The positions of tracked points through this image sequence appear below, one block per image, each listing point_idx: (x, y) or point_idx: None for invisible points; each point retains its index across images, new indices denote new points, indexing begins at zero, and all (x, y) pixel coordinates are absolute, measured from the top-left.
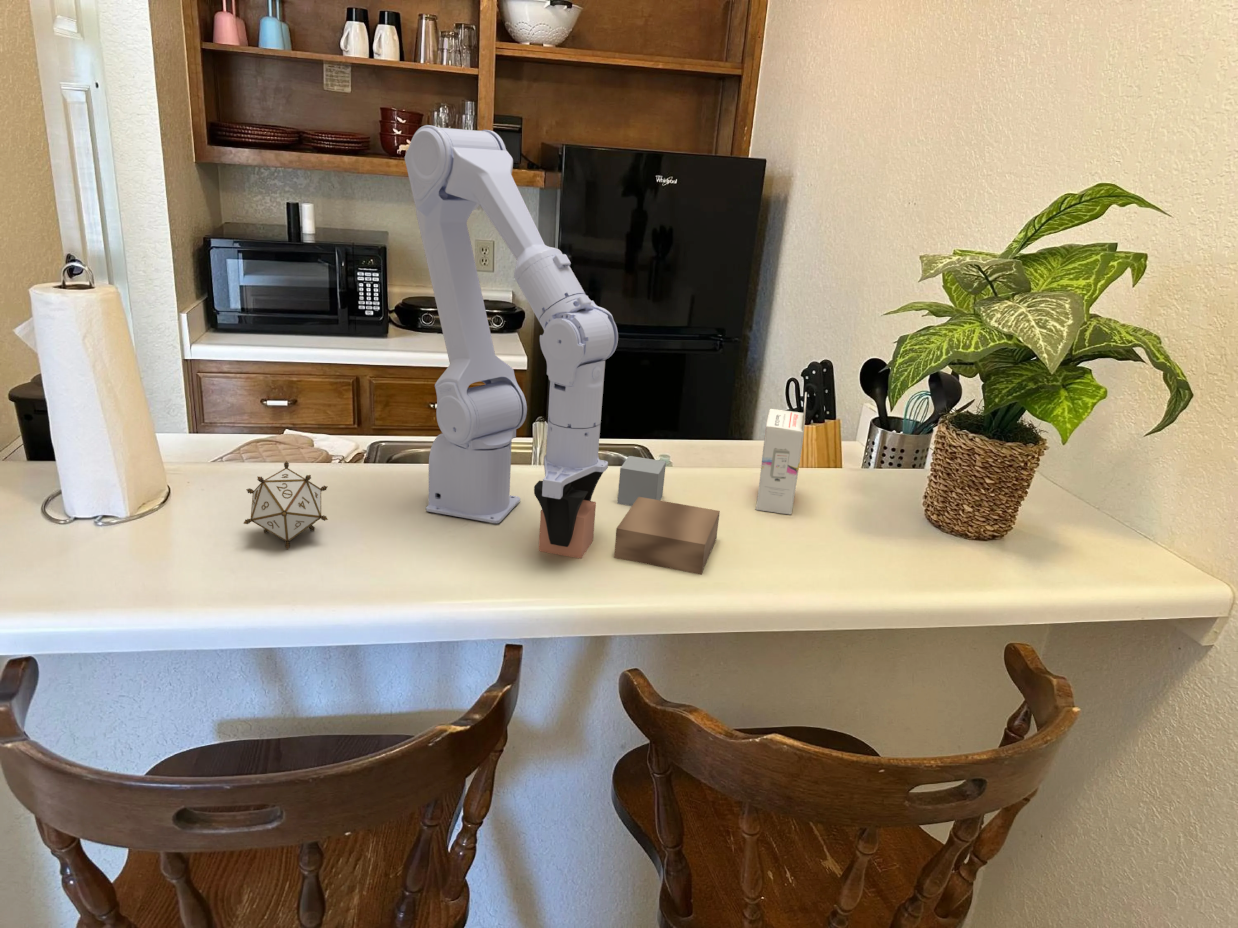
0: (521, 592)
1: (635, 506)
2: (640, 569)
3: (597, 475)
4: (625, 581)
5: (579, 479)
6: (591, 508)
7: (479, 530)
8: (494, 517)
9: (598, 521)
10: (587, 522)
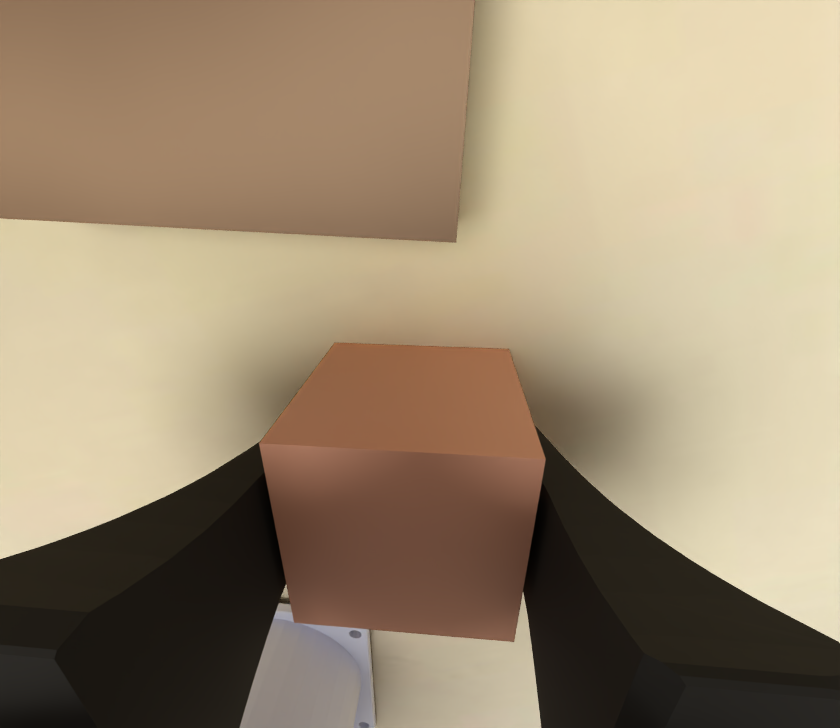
0: (820, 470)
1: (52, 196)
2: (543, 52)
3: (110, 630)
4: (695, 102)
5: (200, 660)
6: (370, 448)
7: None
8: (349, 630)
9: (160, 360)
10: (451, 417)
